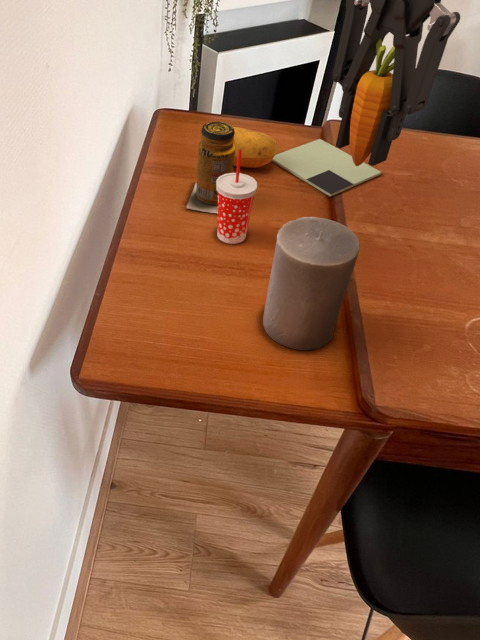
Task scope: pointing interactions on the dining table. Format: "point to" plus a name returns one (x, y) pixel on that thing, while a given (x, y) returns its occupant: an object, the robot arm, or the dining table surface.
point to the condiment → (212, 164)
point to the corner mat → (324, 167)
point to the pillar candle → (309, 281)
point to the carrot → (370, 105)
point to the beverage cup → (234, 204)
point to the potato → (253, 148)
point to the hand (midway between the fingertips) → (360, 152)
